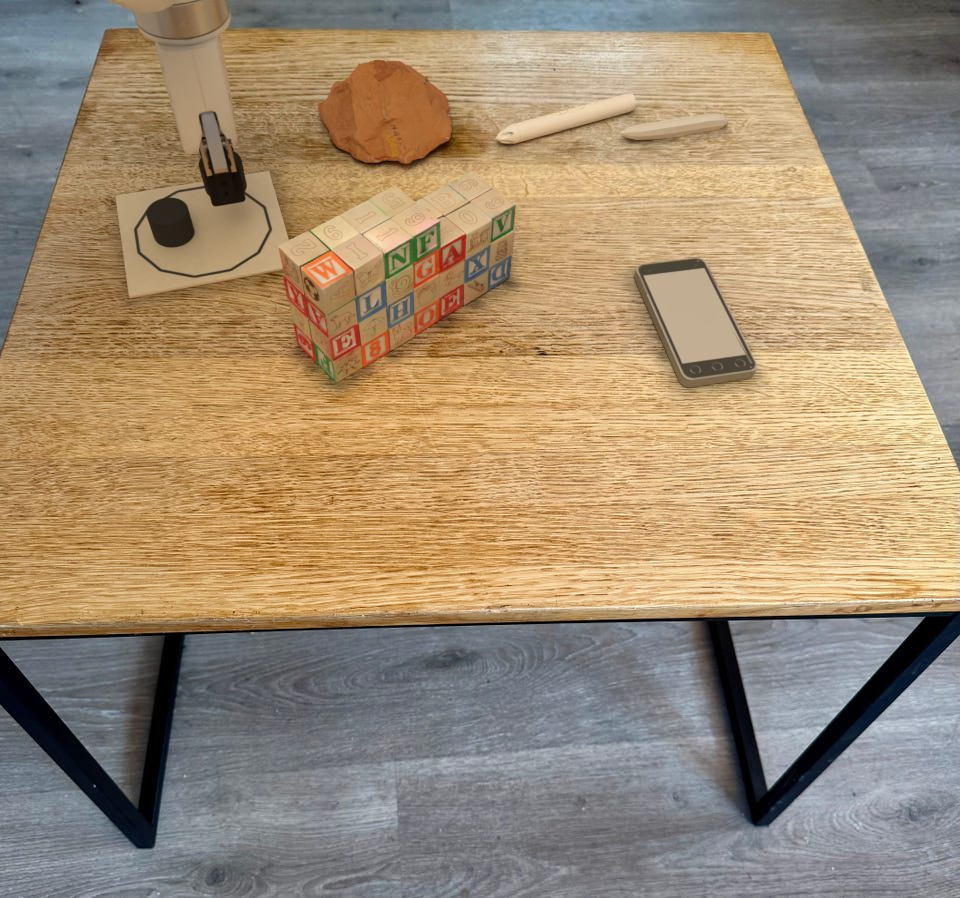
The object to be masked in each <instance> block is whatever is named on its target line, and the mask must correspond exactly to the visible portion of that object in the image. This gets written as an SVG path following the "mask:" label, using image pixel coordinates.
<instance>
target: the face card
mask: <svg viewBox="0 0 960 898" xmlns="http://www.w3.org/2000/svg"><path fill="white" fill-rule="evenodd" d="M245 178H246V183H247V188H246V190H245V192H244V194H245V198H246V199H245V201H244V202H240V203H234V204H228V205H223V206H216V207H215V206H213V205H212V203H211V199H210V196H209V195H208V194H207V193H206V191H205V187H204V184H203V181H197V182H190V183H184V184H179V185H173V186H167V187H166V186H165V187H160V188H154V189H148V190H141V191H135V192H129V193H123V194H116V195H115V196H114V197H115V204H116V205H115V206H116V212H117V219H118V227H119V233H120V234H119V235H120V240H121V247H122V249H121V250H122V255H123V263H124V271H125V278H126V285H127V292H128V299H135V298H141V297H147V296H151V295H157V294H162V293H163V294H164V293H167V292H173V291H178V290H183V289H188V288H195V287H200V286H204V285H211V284H215V283H222V282H226V281H227V282H228V281H231V280H232V281H233V280H238V279H243V278H248V277H253V276H259V275H265V274H269V273H276V272H281V271H283V267H282V262H281V258H280V253H279V246H280V245H281V244H283V243H285V242H287V241H289V240H290V238H289V234H288V231H287V228H286V224H285V221H284V218H283V215H282V214H283V213H282V211H281V207H280V204H279V200H278V197H277V193H276V189H275V186H274V183H273V179H272V176H271V173H270V170H266V171H259V172H252V173H247V174H245ZM162 198H177V199H180V200H182V201H184V202H185V203H186V204H187V206H188V209H189V213H190V216H191V220H192V223H193V227H194V230H195V233H194V236H193V238H192V239H191V240H190V241H189V242H188V243H187V244H185V245H182V246H179V247H172V248H171V247H164V246H161V245H160V244H158V243H157V242H156V241H155V239H154V237H153V234H152V231H151V228H150V225H149V222H148V219H147V216H146V211H147V208H148V207H149V206H150V205H151V204H152V203H153V202H155V201H157V200H159V199H162Z"/></svg>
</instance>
